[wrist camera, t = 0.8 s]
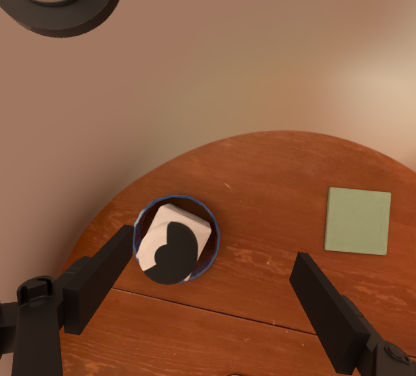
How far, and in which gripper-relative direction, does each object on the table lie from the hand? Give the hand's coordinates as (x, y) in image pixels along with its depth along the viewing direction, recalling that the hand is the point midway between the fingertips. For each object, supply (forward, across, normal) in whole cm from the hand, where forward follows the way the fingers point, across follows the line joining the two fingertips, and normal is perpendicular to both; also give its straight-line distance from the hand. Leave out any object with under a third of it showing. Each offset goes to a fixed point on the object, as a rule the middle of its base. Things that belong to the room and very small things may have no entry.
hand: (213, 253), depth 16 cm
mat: (+19, +26, -2) cm, 32 cm away
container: (+17, -5, -8) cm, 19 cm away
